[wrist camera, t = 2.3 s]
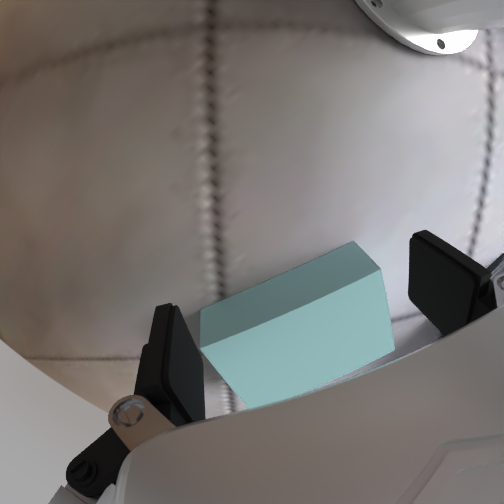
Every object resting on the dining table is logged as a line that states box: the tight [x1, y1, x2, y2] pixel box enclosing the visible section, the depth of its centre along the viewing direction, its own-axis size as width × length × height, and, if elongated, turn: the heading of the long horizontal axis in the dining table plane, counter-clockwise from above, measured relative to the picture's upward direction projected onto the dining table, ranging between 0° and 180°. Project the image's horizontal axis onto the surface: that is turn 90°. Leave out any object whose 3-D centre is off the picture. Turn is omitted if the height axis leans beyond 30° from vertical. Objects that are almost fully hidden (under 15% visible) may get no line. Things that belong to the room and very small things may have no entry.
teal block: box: [200, 241, 395, 409], centre depth 21 cm, size 8×12×4 cm, turn 114°
